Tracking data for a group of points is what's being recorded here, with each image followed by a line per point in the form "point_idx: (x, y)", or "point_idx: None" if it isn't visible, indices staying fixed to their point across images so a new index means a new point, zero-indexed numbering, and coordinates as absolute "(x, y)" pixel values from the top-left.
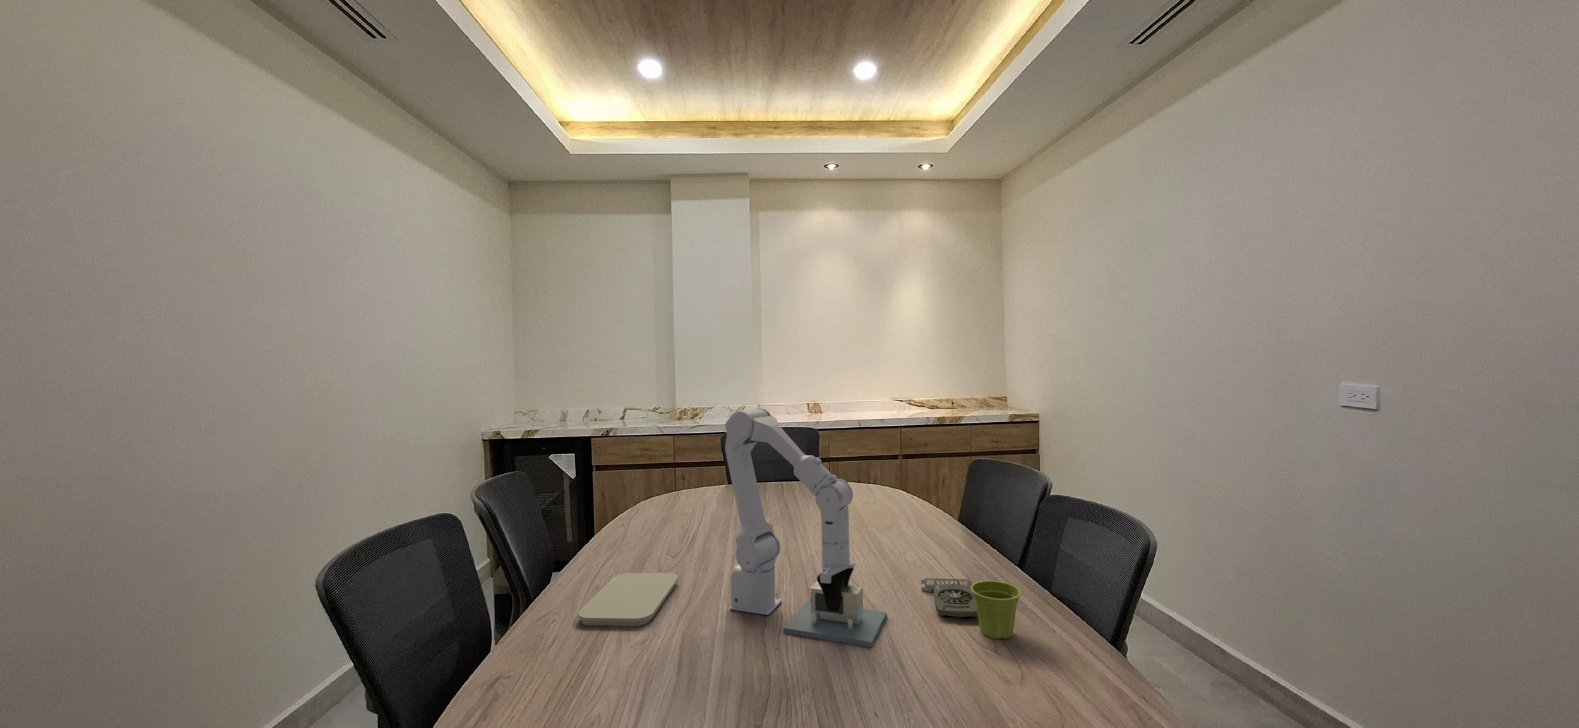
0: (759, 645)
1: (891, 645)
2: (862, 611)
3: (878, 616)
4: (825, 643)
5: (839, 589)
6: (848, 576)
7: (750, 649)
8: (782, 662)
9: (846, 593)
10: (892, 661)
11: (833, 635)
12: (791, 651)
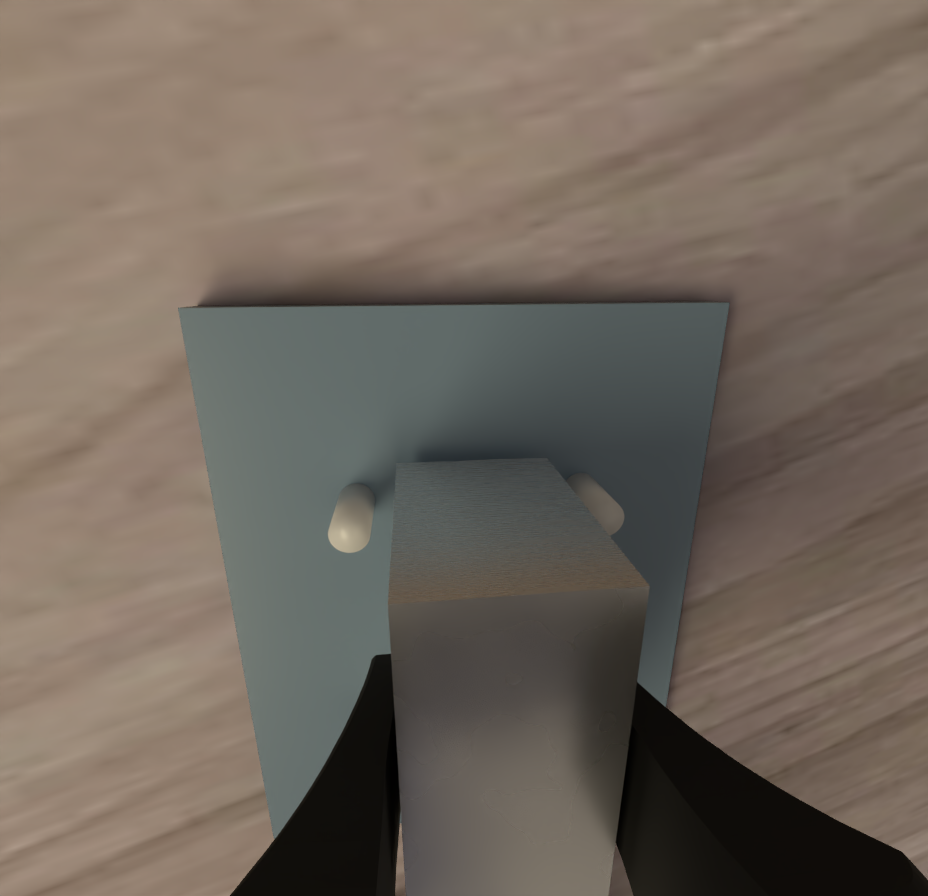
0: None
1: (655, 166)
2: (406, 477)
3: (298, 355)
4: (708, 563)
5: (801, 801)
6: (378, 883)
7: (812, 804)
8: (909, 661)
9: (630, 695)
10: (870, 113)
11: (685, 552)
12: (811, 669)
